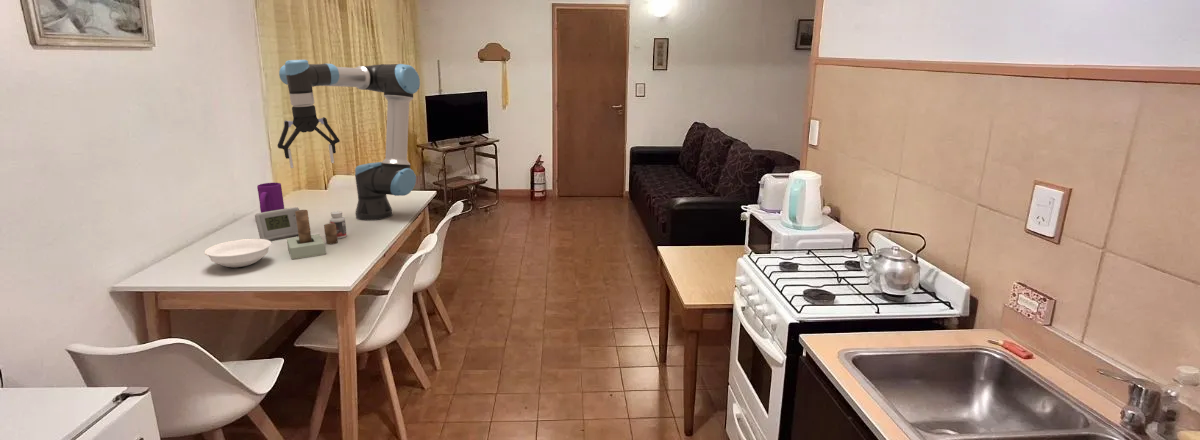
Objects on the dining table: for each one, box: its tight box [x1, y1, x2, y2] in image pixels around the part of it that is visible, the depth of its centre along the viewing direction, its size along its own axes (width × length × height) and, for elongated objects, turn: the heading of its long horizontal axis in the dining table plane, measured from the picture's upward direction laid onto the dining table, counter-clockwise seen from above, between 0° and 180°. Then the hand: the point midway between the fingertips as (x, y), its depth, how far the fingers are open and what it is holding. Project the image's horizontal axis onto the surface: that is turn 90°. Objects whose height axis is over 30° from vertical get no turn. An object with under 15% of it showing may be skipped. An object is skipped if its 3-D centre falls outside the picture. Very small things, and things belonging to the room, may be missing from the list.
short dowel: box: [323, 222, 339, 245], centre depth 238 cm, size 4×4×7 cm
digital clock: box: [254, 206, 300, 242], centre depth 246 cm, size 16×9×11 cm, turn 120°
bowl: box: [203, 238, 272, 268], centre depth 214 cm, size 20×20×6 cm
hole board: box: [286, 233, 327, 260], centre depth 228 cm, size 11×14×4 cm
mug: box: [257, 182, 285, 213], centre depth 270 cm, size 9×16×15 cm, turn 8°
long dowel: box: [295, 209, 312, 244], centre depth 227 cm, size 4×4×15 cm
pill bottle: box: [329, 210, 348, 239], centre depth 245 cm, size 5×5×10 cm
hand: (312, 165), depth 229 cm, fingers open, 13 cm apart
